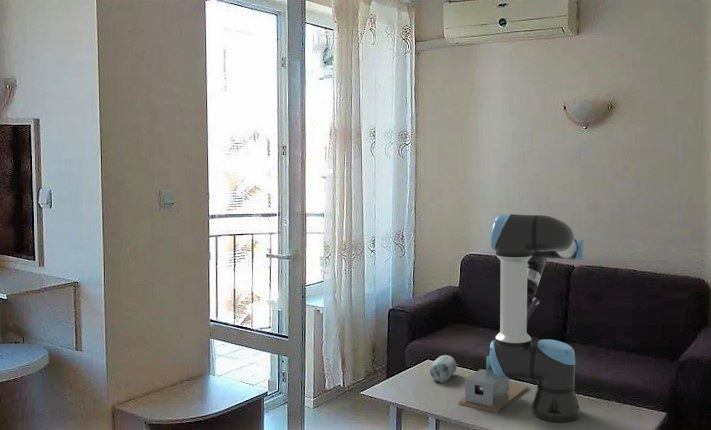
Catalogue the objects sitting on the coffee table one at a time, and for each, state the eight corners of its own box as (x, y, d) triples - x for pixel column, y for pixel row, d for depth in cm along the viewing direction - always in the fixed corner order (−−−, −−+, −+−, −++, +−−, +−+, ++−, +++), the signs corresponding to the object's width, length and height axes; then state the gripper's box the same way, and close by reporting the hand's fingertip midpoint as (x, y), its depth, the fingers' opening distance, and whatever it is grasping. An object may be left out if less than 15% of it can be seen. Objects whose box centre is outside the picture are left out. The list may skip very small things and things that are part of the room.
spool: (451, 378, 254) (442, 351, 257) (429, 386, 258) (420, 360, 261) (466, 376, 265) (457, 351, 269) (444, 384, 269) (436, 359, 273)
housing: (491, 381, 259) (491, 357, 258) (528, 388, 251) (528, 364, 250) (458, 404, 237) (458, 378, 236) (497, 412, 229) (497, 386, 228)
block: (488, 385, 249) (488, 355, 248) (509, 389, 245) (509, 359, 243) (470, 398, 237) (470, 366, 236) (491, 402, 233) (492, 370, 232)
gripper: (547, 290, 264) (530, 344, 252) (514, 287, 272) (496, 339, 260) (542, 279, 260) (525, 333, 247) (509, 276, 267) (490, 328, 255)
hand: (510, 336), depth 254 cm, fingers closed
